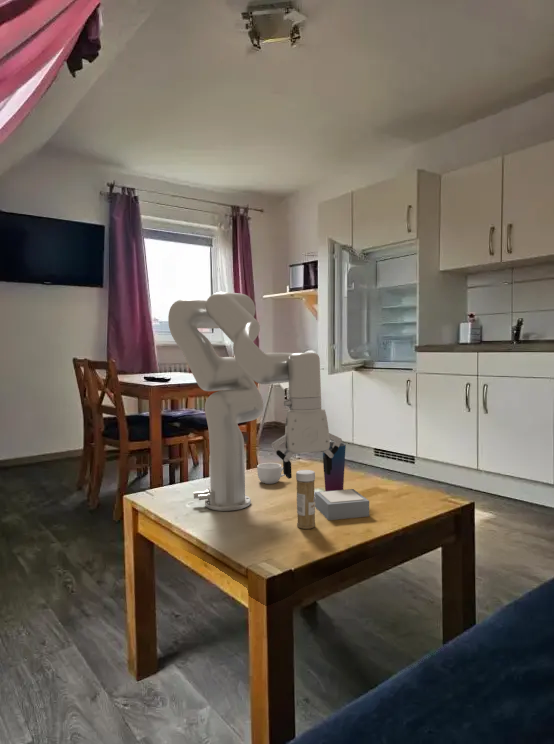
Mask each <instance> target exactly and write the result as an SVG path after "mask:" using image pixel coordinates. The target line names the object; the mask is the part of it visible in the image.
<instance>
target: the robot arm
mask: <svg viewBox="0 0 554 744" xmlns="http://www.w3.org/2000/svg"><path fill="white" fill-rule="evenodd" d="M255 315H256V305H255V303H254V300H253V299H252V298H251V297H250V296H249V295H247V294H244V293H239V292H238V293H237V292H227V291H219V292H215V293H213V294H211V295H210V296H209V297H208V298H207V299H203V298H193V297H192V298H191V297H190V298H189V297H188V298H187V297H186V298H181V299H179V300H176V301H174V302H173V304H172V305H170V307H169V311H168V317H167V320H168V328H169V331H170V332H169V333H170V335H171V337H172V339H173V340H174V342H175V344H176V345H177V346H178V349H179V350H180V351H181V352H182V355H183V356H184V358H185V361H186V363H187V365H188V367H189V370H190V371H191V373H192V376H193V377H194V380H195V381H196V384H197V386H198V387H199V388H200V389H201V390H203V391H204V392H213V393H211V394H210V395H209V396H208V397H207V398H206V401H205V403H204V413H205V414H204V415H205V419H206V422H207V427H208V440H209V442H208V443H209V445H208V446H209V475H210V476H209V480H210V481H209V483H210V486H208V487H207V488H208V489H204V491H202V490H201V491H200V490H199V491H198V490H197V491H193V499H198V501H204V506H205V507H206V508H208V509H209V510H212V511H219V512H229V511H238V510H242V509H245V508H248V506H250V505H251V504H252V501H251V500H252V499H251V497H250V496H248V495H246V471H245V467H246V466H245V440H244V438H245V437H244V435H243V433H242V431H241V429H240V426H239V425H238V424H241V423H246V422H250V421H254V420H257V419H259V418H260V417H261V415H262V414H263V411H264V399H263V398H262V395H261V393H260V390H259V388H258V386H257V384H260V385H273V384H286V383H288V389H289V391H288V393H289V394H288V395H289V396H288V400H284V401H283V407H287V408H289V410H287V411H286V412H287V413H286V417H285V418H286V419H285V427H284V428H285V430H284V431H285V432H284V435H282V436H281V437H279V438H277V439H275V440H274V441H273V442H271V444H270V446H271V448H272V449H273V451H274V453H275V455H277V456H278V457H279V458H280V460H282V467H283V470H282V472H283V474H284V476H285V477H286V478H287V479H291V478H292V476H293V475H292V462H291V461H290V459H291V458H292V457H293V455H301V454H313V453H322V454H323V453H324V454H325V456H324V457H323V456H322V462H323V474H324V473H326V474H327V475H330V474H331V473H330V470H332V458H333V456H334V454H335V453H336V452H337V451H338V448H339V446H340V444H341V442H342V441H343V440H342V438H341V437H339V436H336V435H334V434H332V433H330V429H329V424H328V416H327V413H326V409H324V408H322V388H321V387H322V385H321V383H322V382H321V361H320V355H319V354H317V353H316V352H295V353H294V352H266V353H265V352H264V351H262V349H260V347H259V346H258V345H257V344H255V340H256V339H257V337H258V336H259V334H260V332H261V325H260V322H259V321H258V320H257V319H256V318H255ZM199 329H212V330H213V329H214V330H215V329H220V330H221V331H222V332H223V333H224V334H225V335H226V336H227V337H228V339H229V340H230V341H231V342H232V343H233V345H232V346H233V349H232V351H233V355H234V357H233V356H224V357H223V356H220V355H218V353H217V352H216V350H215V349H214V346H213V344H212V342H211V340H209V338H207V337H206V335H204V334H203V333H202V332H201V331H200V330H199ZM256 383H257V384H256ZM331 440H332V442H334V443H333V446H332V447H331V448H330V442H331ZM282 444H285V445H284V446H285V450H284V452H283V451H281V448H280V446H281V445H282ZM329 448H330V449H329Z"/></svg>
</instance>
